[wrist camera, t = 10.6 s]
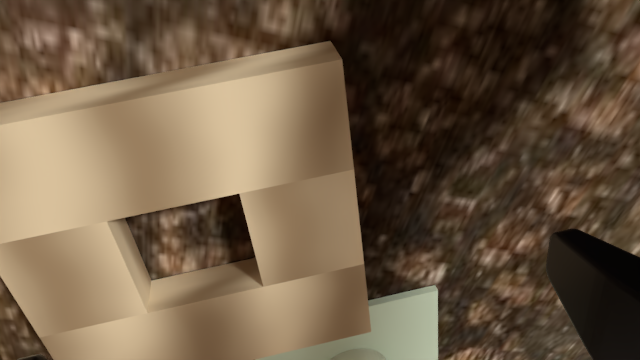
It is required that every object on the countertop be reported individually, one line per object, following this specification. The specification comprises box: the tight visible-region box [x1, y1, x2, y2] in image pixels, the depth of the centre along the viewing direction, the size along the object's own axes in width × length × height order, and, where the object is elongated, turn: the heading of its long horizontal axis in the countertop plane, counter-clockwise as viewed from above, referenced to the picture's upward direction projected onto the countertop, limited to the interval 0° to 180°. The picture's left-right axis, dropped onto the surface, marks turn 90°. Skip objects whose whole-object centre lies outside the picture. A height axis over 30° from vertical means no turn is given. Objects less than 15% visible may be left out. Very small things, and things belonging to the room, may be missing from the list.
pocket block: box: [0, 41, 371, 360], centre depth 22 cm, size 14×14×2 cm
